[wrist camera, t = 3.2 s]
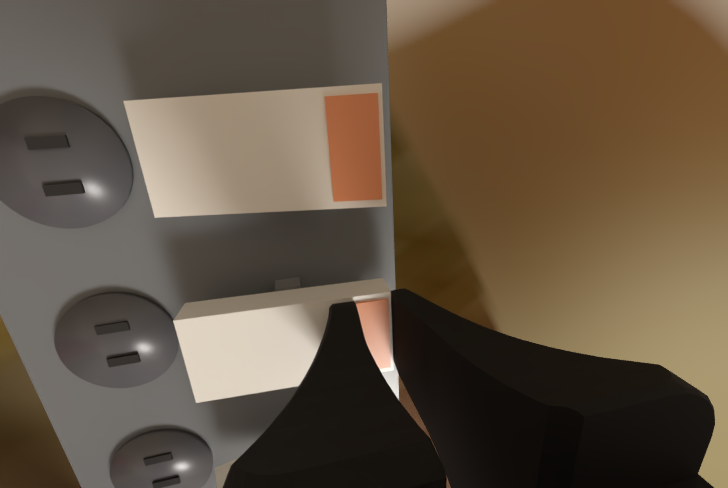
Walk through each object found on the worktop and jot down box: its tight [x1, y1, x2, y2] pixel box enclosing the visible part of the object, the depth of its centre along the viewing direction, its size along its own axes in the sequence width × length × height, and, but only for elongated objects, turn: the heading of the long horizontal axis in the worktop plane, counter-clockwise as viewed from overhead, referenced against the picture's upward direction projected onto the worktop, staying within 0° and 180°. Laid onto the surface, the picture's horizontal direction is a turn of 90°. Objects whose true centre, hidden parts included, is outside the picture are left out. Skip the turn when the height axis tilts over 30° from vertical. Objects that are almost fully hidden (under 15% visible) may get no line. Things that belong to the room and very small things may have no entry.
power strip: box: [0, 0, 399, 488], centre depth 13 cm, size 20×12×4 cm, turn 3°
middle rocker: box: [173, 278, 394, 403], centre depth 10 cm, size 3×6×1 cm, turn 93°
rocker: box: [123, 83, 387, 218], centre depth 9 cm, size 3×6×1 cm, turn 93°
